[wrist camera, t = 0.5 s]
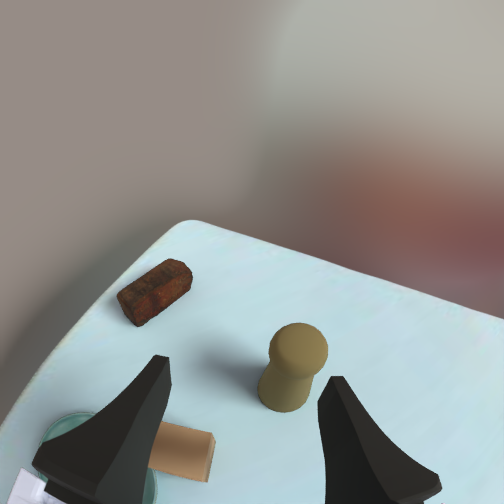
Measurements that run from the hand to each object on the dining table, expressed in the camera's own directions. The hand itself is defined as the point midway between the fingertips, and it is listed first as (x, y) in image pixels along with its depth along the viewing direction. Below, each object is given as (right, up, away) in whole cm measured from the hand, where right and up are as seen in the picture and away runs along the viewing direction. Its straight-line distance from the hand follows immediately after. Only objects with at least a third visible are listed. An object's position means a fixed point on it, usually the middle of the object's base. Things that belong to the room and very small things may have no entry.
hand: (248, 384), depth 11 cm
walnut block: (-6, -15, +11) cm, 20 cm away
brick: (-13, -1, +27) cm, 30 cm away
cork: (+4, -10, +18) cm, 21 cm away
